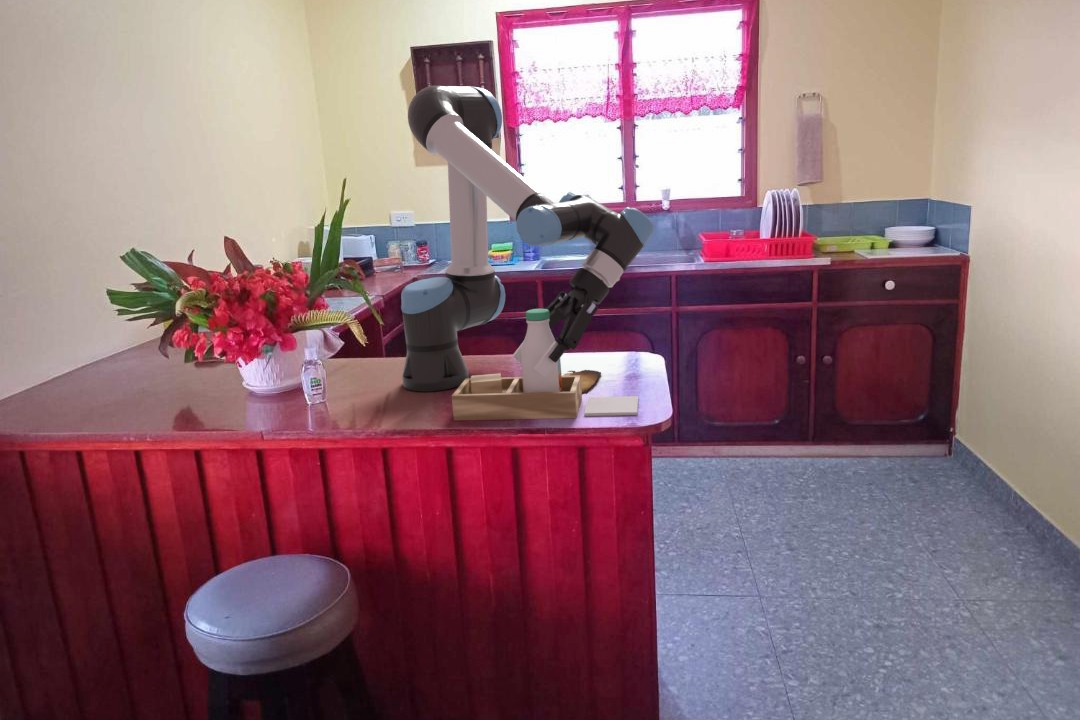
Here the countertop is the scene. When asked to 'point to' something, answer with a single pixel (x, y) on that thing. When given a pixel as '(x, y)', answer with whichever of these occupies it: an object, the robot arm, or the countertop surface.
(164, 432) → the countertop surface
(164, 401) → the countertop surface
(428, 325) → the robot arm
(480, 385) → the offcut top
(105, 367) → the countertop surface
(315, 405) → the countertop surface
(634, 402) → the coaster
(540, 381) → the milk bottle
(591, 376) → the parchment
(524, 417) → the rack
